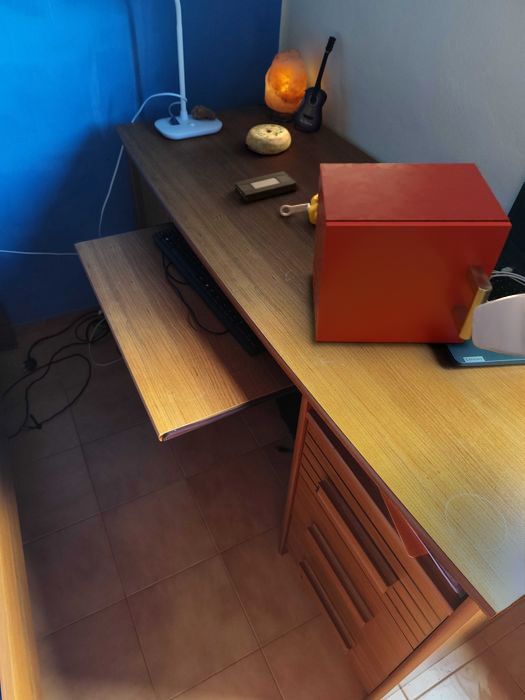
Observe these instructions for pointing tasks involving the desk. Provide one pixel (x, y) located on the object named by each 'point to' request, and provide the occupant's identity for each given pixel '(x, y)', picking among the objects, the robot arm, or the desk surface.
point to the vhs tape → (265, 186)
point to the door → (405, 280)
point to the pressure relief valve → (304, 209)
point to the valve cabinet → (399, 199)
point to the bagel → (268, 139)
